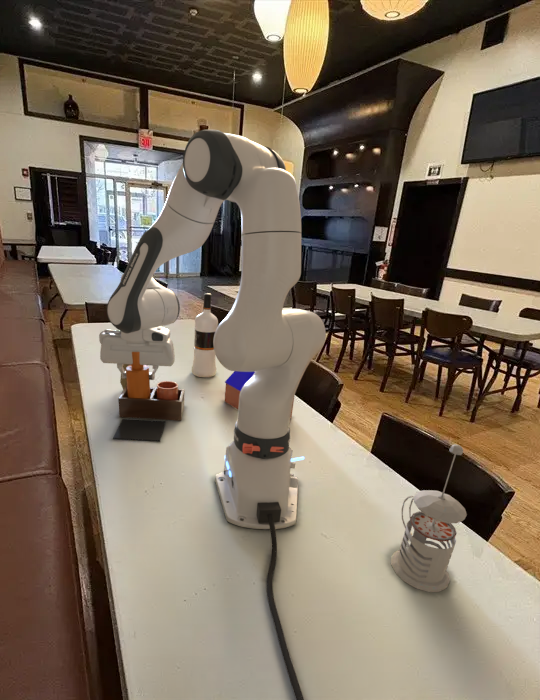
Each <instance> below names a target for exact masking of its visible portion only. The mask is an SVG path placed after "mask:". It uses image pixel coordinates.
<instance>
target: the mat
mask: <svg viewBox="0 0 540 700" xmlns="http://www.w3.org/2000/svg"><path fill="white" fill-rule="evenodd" d="M165 426H166V420H156V419H137V418H121V421H120V423H119V426H118V427H117V429H116V431H115V433H114V434H113V437H112V440H116V441H117V440H119V441H139V442H140V441H141V442H142V441H143V442H157V443H158V442H161V439H162V436H163V432H164V429H165Z"/></svg>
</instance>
